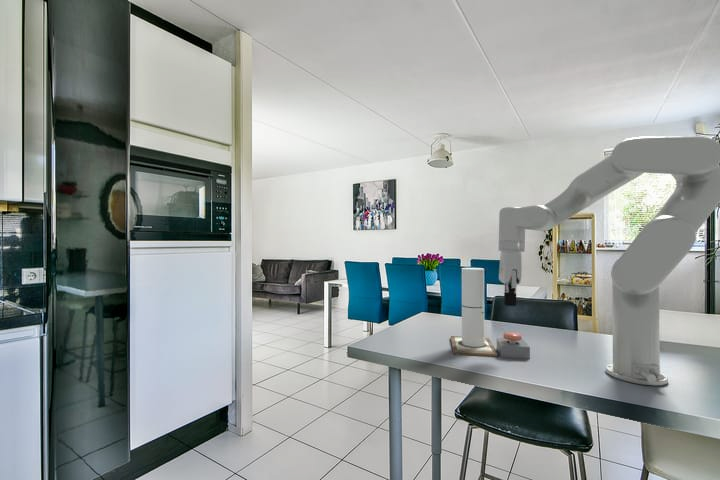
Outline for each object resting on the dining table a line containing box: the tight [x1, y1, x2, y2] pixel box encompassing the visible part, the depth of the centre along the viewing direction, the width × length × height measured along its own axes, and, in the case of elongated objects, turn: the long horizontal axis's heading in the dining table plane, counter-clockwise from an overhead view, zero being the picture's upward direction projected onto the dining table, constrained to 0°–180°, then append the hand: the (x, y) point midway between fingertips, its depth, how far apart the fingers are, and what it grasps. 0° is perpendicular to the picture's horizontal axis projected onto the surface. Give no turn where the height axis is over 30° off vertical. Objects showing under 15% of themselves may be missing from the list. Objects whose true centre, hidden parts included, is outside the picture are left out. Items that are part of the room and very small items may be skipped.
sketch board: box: [450, 335, 499, 358], centre depth 115 cm, size 18×13×1 cm
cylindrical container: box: [461, 267, 485, 347], centre depth 115 cm, size 7×7×25 cm
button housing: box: [496, 337, 531, 360], centre depth 108 cm, size 8×8×4 cm
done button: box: [503, 331, 523, 344], centre depth 108 cm, size 5×5×4 cm
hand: (509, 305), depth 108 cm, fingers closed
